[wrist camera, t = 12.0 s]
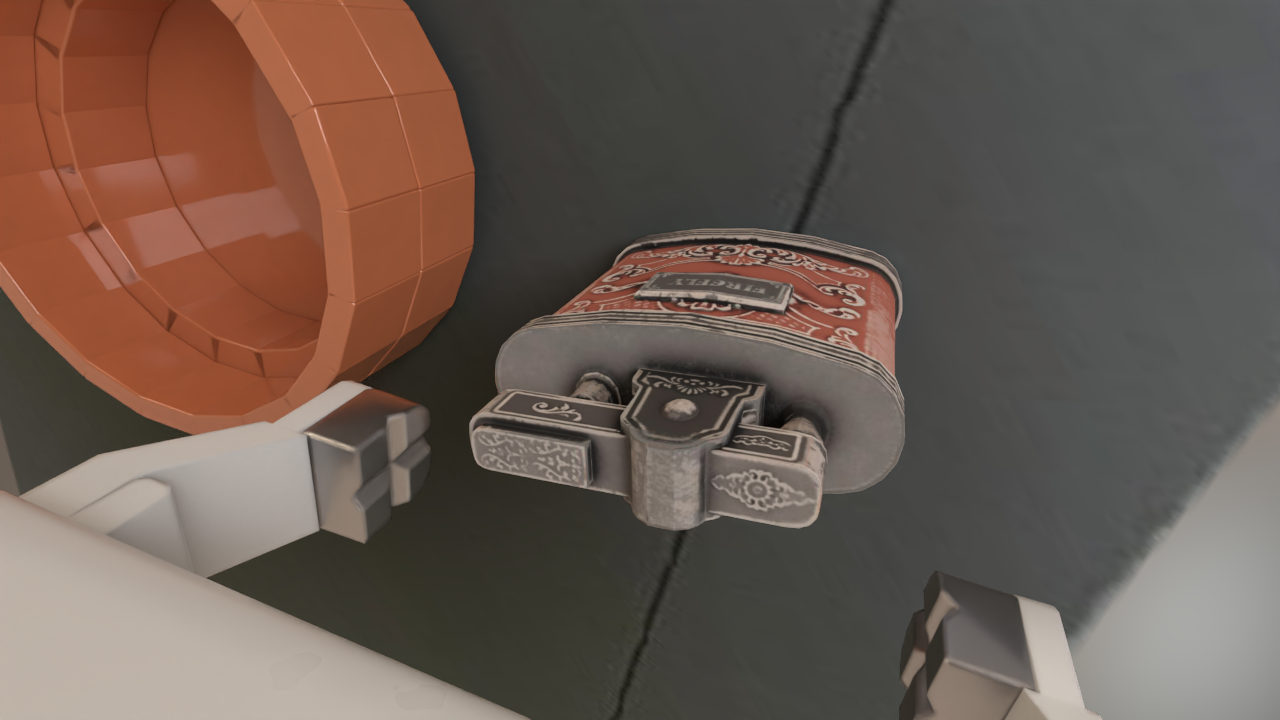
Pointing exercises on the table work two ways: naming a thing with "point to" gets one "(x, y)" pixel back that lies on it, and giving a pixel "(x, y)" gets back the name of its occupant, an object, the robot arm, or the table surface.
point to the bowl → (228, 196)
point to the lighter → (709, 380)
